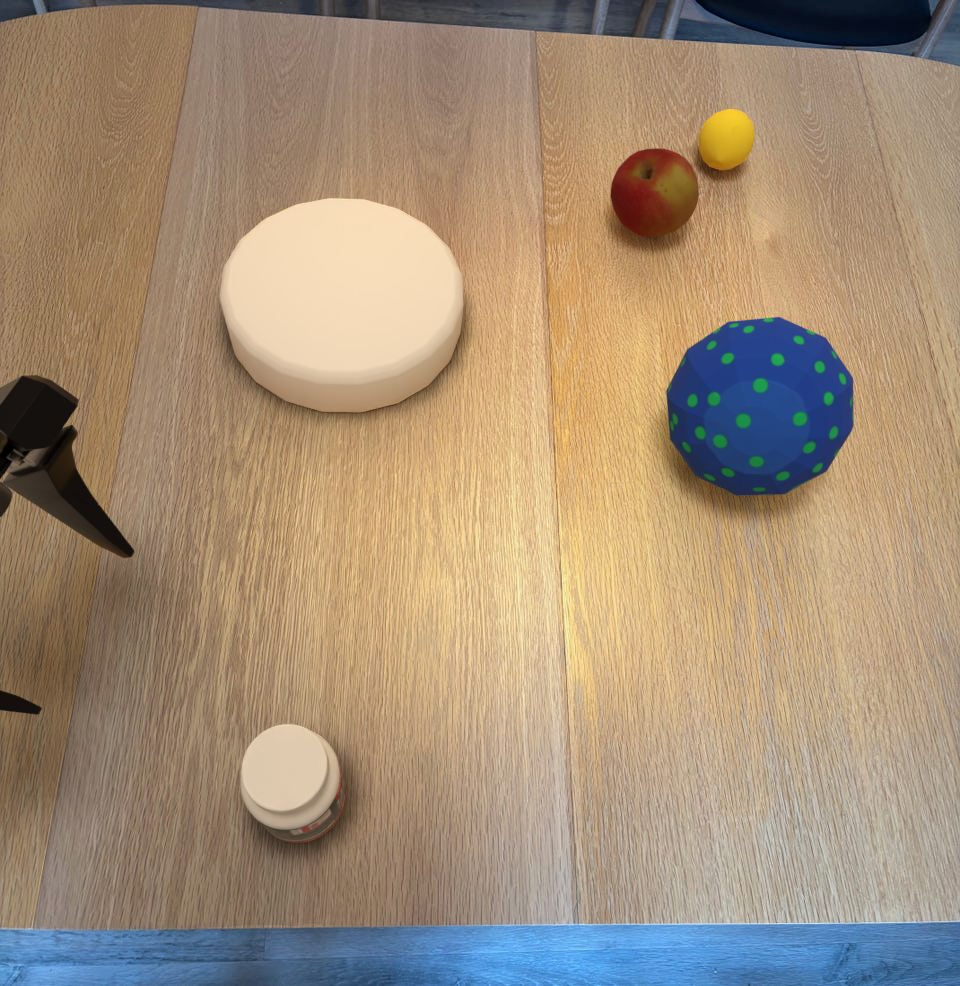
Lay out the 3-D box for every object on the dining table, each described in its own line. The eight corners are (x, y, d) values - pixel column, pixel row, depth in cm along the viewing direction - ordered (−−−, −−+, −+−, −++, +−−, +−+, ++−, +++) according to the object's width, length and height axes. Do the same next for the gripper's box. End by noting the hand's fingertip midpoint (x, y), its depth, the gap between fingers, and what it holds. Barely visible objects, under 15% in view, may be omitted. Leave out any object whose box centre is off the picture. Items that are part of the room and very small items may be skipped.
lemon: (735, 191, 86) (755, 147, 81) (684, 174, 86) (701, 129, 82) (749, 147, 89) (769, 102, 84) (699, 131, 90) (716, 86, 85)
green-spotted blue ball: (870, 315, 69) (890, 350, 56) (824, 477, 74) (833, 545, 61) (693, 288, 73) (673, 315, 59) (662, 445, 78) (637, 501, 65)
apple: (610, 188, 85) (630, 119, 78) (690, 209, 84) (717, 142, 77) (594, 242, 81) (613, 174, 74) (677, 264, 81) (705, 199, 73)
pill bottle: (362, 809, 56) (356, 783, 47) (283, 863, 54) (262, 845, 45) (318, 734, 57) (305, 695, 49) (240, 783, 56) (212, 751, 47)
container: (198, 393, 69) (186, 358, 65) (258, 216, 79) (251, 175, 75) (444, 430, 70) (447, 397, 66) (474, 249, 79) (478, 210, 75)
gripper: (-398, 664, 27) (47, 830, 36) (-40, 252, 36) (246, 467, 45) (-407, 656, 34) (-38, 795, 43) (-110, 318, 43) (147, 491, 52)
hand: (86, 629), depth 46 cm, fingers open, 9 cm apart
